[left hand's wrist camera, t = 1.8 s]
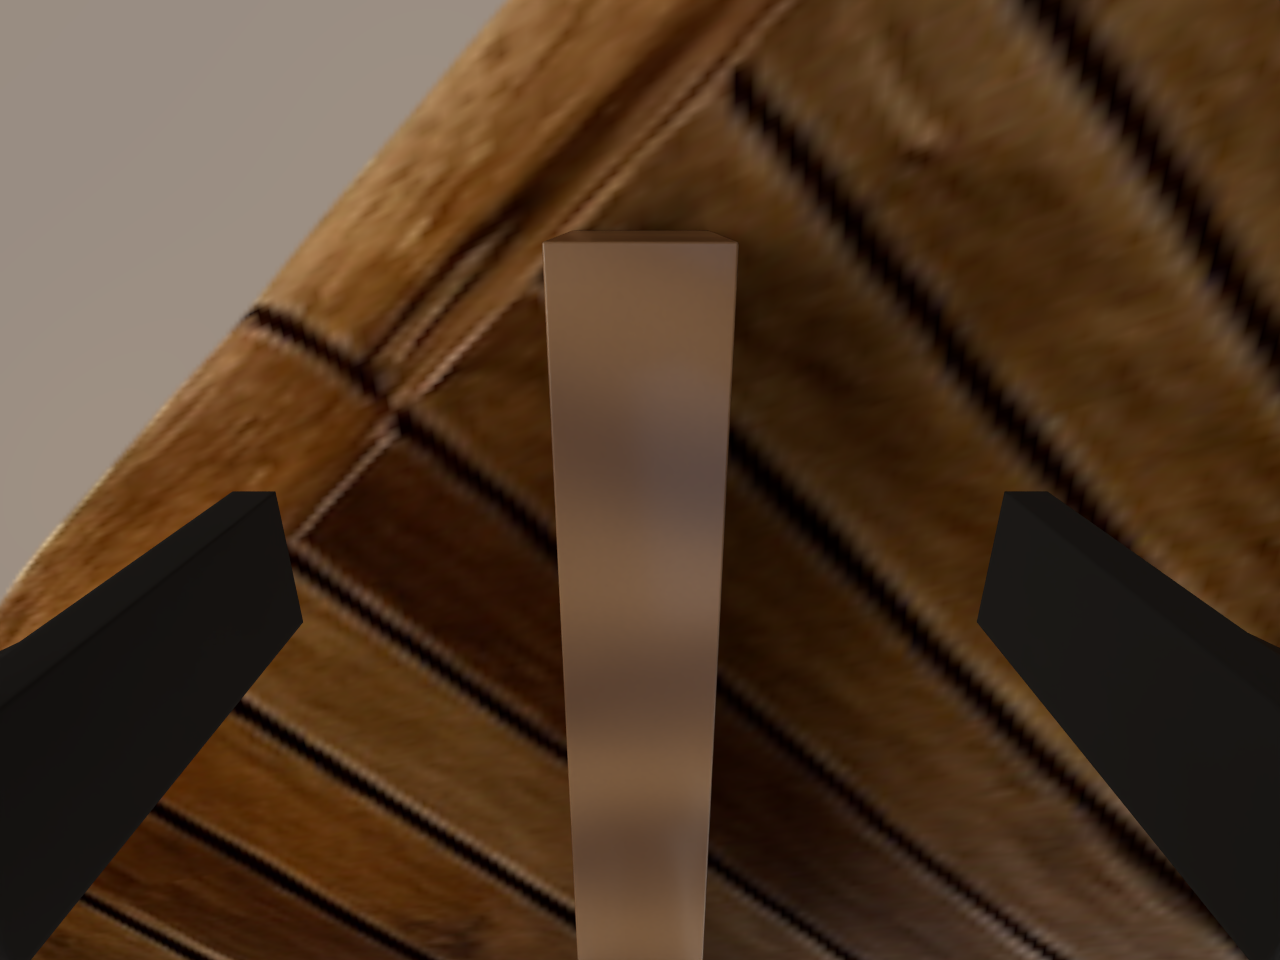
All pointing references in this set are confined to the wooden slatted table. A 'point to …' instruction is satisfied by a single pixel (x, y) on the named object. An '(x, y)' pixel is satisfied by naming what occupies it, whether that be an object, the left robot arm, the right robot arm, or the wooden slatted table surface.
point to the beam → (640, 568)
